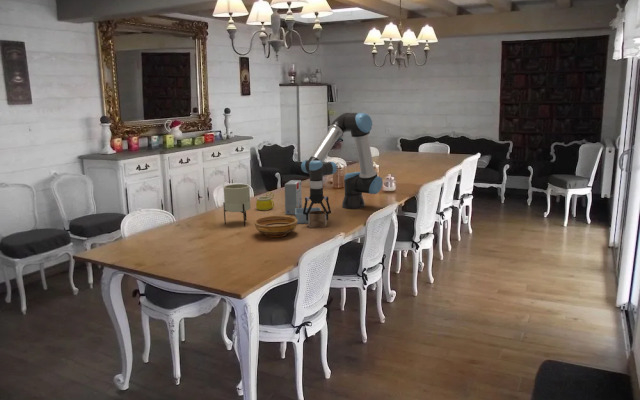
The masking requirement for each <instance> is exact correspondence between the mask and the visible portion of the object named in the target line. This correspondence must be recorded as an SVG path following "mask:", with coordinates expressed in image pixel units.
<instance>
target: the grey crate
mask: <svg viewBox="0 0 640 400" xmlns="http://www.w3.org/2000/svg"><path fill="white" fill-rule="evenodd" d="M308 208H309V207H306V212H307V210H308ZM321 208H322V207H312V208H311V210H310V211H322V209H321ZM303 210H304V207H302V208H295V215H294V216H295V218H297V219H298V221H297V225H302V224H303V225H304V224H306V225H307V224H308V221H307V220H306V215H305V214H303Z"/></svg>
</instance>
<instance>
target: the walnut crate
mask: <svg viewBox="0 0 640 400" xmlns="http://www.w3.org/2000/svg"><path fill="white" fill-rule="evenodd" d="M325 214H326V213H325V211H324V210H321V211H310V212H309V216H310V226H309V228H310V229H321V228H324V229H325V228H326V226H325Z"/></svg>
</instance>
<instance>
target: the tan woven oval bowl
mask: <svg viewBox="0 0 640 400" xmlns="http://www.w3.org/2000/svg"><path fill="white" fill-rule="evenodd" d="M297 221H298V219H297V218H295V217H294V216H289V215H278V214H277V215H268V216H263V217H259V218H256V219H255V220H254V221H253V224H254V226H255V229H256V230H257V231H258V232H260V233H262V234H264V235H266V236H267V237H270V238H281V237H284V236H286V235H287V234H288V233H290V232H293V230H295V229H296V227H297V225H298V224H297Z"/></svg>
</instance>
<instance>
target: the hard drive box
mask: <svg viewBox="0 0 640 400" xmlns="http://www.w3.org/2000/svg"><path fill="white" fill-rule="evenodd" d="M302 200H303V198H302V180H300V179H299V180H298V179H297V180H296V179H292V180H291V179H290V180H289V181H288V182H286V183H285V184H284V212H285V213H284V215H294V216H295V208H303V201H302Z"/></svg>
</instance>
